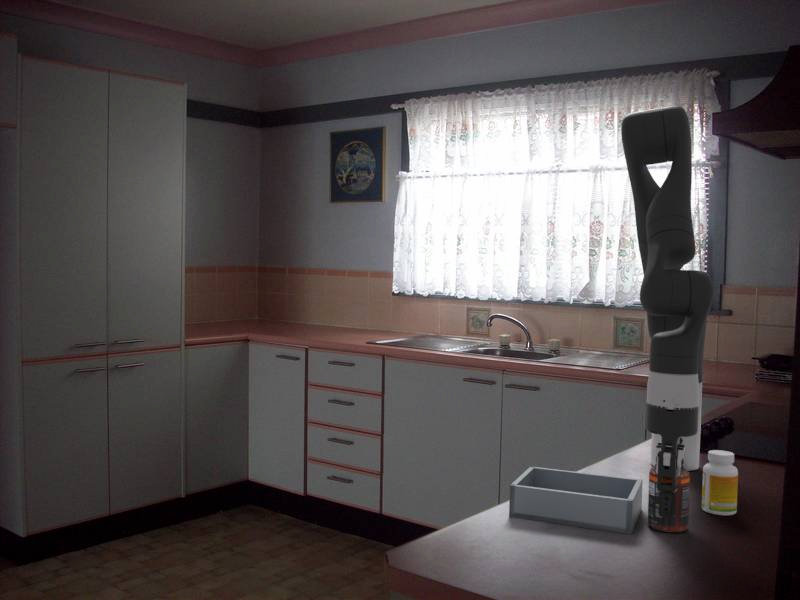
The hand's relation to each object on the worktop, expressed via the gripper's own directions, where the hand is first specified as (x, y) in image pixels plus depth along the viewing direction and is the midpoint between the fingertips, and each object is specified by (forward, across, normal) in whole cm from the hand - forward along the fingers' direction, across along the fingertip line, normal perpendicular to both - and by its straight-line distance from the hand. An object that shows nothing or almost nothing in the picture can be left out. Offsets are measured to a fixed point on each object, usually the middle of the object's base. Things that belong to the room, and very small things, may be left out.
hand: (668, 510), depth 125 cm
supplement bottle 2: (+3, -13, +7) cm, 15 cm away
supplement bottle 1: (+3, 0, 0) cm, 3 cm away
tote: (+3, -1, -14) cm, 14 cm away
